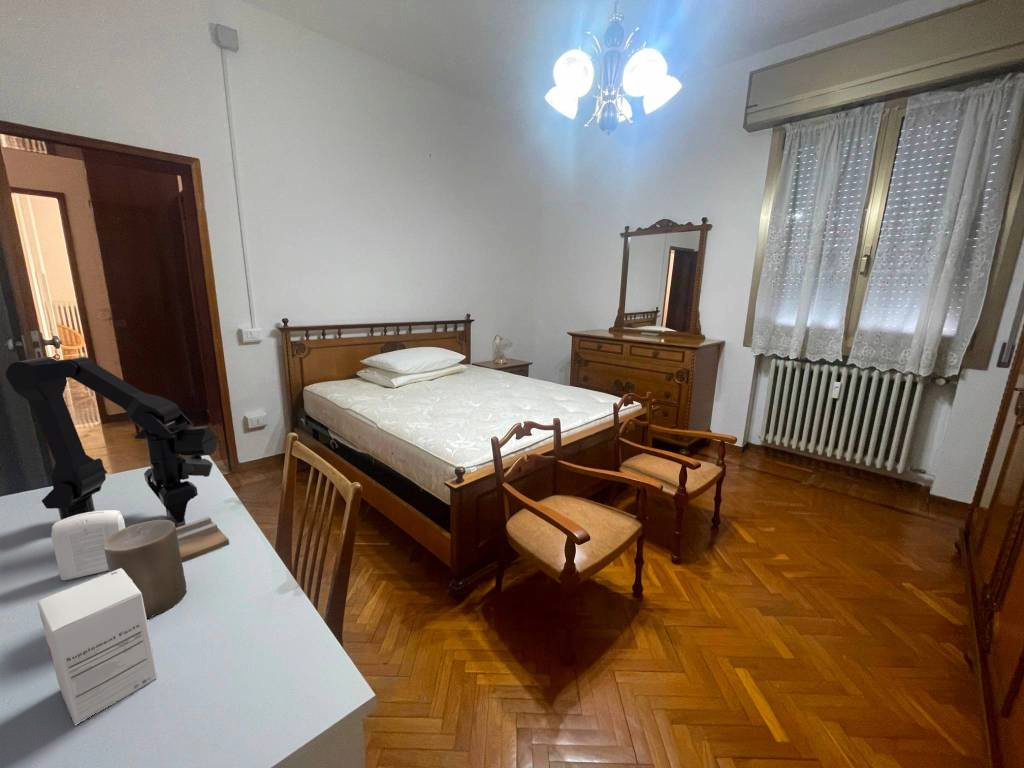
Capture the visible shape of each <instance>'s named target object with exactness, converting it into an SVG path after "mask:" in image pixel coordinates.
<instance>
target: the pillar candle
mask: <svg viewBox="0 0 1024 768" xmlns="http://www.w3.org/2000/svg"><path fill="white" fill-rule="evenodd" d="M176 528H177V527H176V526H175V524H174V522H172V521H171V520H170V519H155V520H148V521H143V522H139V523H136V524H132V525H129V526H128V527H125V528H124V529H122V530H120V531H119V532H117V533H115V534H113V535H112V536H110V537H109V538H107V540H106V541H105V542H104V544H103V549H104V551H105V556H106V560H107V565H108V570H107V571H108V573H110V572H112V571H115V570H117V569H120V568H122V569H123V570H124V571H125V573H126V574H127V575H128V576H129V578H131V579H132V581H133V583H134V584H135V585H136V587H137V588H138V589H139V590H140V592H141V593H142V598H143V603H144V608H145V613H146V618H151V617H153V616H157V615H160V614H162V613H164V612H166V611H168V610H170V609H171V608H173V607H175V606H176V605H178V603H180V602H181V600H183V598H184V597H185V596H186V594H187V593H188V590H187V580H186V576H185V572H184V566H183V563H182V560H181V555H180V550H179V544H178V538H177V532H176Z"/></svg>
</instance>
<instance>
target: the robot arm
mask: <svg viewBox="0 0 1024 768" xmlns="http://www.w3.org/2000/svg"><path fill="white" fill-rule="evenodd" d="M5 377H6V379H7V381H8V382H9V384H10V385H11V387H12V389H13V391H14V392H15V393H16V394H18V395H20V396H21V397H22V398H24V399H26V400H27V401H28V402H30V404H31V406H32V409H33V411H34V414H35V417H36V419H37V421H38V423H39V426H40V428H41V430H42V432H43V436H44V438H45V441H46V443H47V445H48V447H49V450H50V453H51V455H52V457H53V460H54V466H53V470H52V472H51V476H50V477H51V478H50V479H51V483H52V489H51V490H50V492H49V493H48V494H46V496H44V498H43V499H41V502H42V504H43V505H44V507H45V509H50V510H51V509H57V510H58V514H59V518H60V519H59V520H63V519H65V518H68V517H71V516H74V515H78V514H82V513H87V512H93V511H96V510H95V504H94V499H93V495H94V494H96V493H99V492H100V491H101V490H102V485H103V484H104V482H105V481H106V480H107V479H106V478H107V477H106V474H108V471H107V470H106V469H105V467H104V463H103V460H102V459H101V458H99V457H98V458H95V459H94V458H93V457H90V455H88V454H87V453H86V452H85V449H84V446H83V444H82V441H81V438H80V436H79V434H78V431H77V429H76V426H75V423H74V421H73V418H72V416H71V413H70V410H69V408H68V405H67V403H66V401H65V398H64V393H65V389H66V386H67V383H68V380H67V379H68V378H69V379H73V380H74V381H76V382H77V383H79V384H80V385H82V386H84V387H86V388H87V389H89V390H91V391H93V392H95V393H96V394H98V395H100V396H101V397H103V398H105V399H106V400H108V401H109V402H112V403H113V404H115V405H117V406H118V407H120V408H122V409H123V410H124V411H125V413H126V414H127V416H128V418H129V419H130V421H132V422H133V423H134V424H136V425H137V426H138V427H140V428H141V430H140V431H139V432H138V433H137V434H136V435H135V436H134V439H136V440H146V444H147V445H146V447H147V451H148V458H149V459H147V463H148V465H149V466H150V468H148V469H147V470H145V472H144V473H143V475H144V480H145V482H146V485H147V486H148V487H149V488H150V489H151V491H152V492H153V493H154V494H155V496H156V497H157V498H158V500H159V501H160V502H161V504H162V505H163V506H164V508H165V510H166V509H167V510H168V511H169V513H170V514H171V515H172V516H173V517H174V519H175V520H176V521H177V523H181V522H183V521H184V517H185V516H186V512H187V511H186V510H187V508H188V502H189V501H190V500H192V499H194V498H196V497H197V496H199V494H198V488H197V486H196V485H195V484H194V483H193V482H190V481H188V479H190V476H191V477H192V476H193V477H195V476H196V477H199V476H200V477H202V476H203V477H204V478H205V477H207V478H208V477H210V475H211V472H212V469H213V464H214V463H212V462H211V461H210V460H209V459H206V458H204V457H202V456H211V455H213V454H214V453H215V452H216V450H217V447H218V436H217V435H216V434H215V432H214V431H212V430H211V429H210V426H209V425H203V426H194V423H193V422H192V421H191V420H190V419H189V418H188V417H187V416H186V415H185V414H184V413H183V412H182V411H181V410H180V407H179V406H178V404H176V402H174V401H172V400H169V399H167V398H165V397H162V396H160V395H155V394H150V393H147V392H144V391H142V390H140V389H139V388H137V387H135V386H133V385H132V384H130V383H128V382H127V381H125V380H124V379H122V378H120V377H118V376H117V375H115V374H113V373H112V372H110V371H109V370H107V369H105V368H104V367H102V366H100V365H98V364H97V363H96V362H95V360H93V359H92V358H90V357H87V356H80V357H76V358H75V357H74V358H67V359H55V358H53V357H50V356H49V357H46V356H43V357H38V358H31V359H25V360H20V361H19V360H18V361H15V362H13V363H11V364H9V366H8V367H7V369H5ZM174 423H176V424H174ZM173 424H174V425H173ZM169 425H171V426H169ZM167 426H169V427H167ZM183 456H188V457H186V458H185V457H183ZM185 480H186V481H185ZM185 518H186V517H185Z"/></svg>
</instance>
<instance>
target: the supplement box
mask: <svg viewBox="0 0 1024 768" xmlns="http://www.w3.org/2000/svg"><path fill="white" fill-rule="evenodd" d="M37 607H38V611H39V614H40V619H41V623H42V624H41V625H42V627H43V631H44V635H45V638H46V643H47V646H48V650H49V655H50V657H51V661H52V666H53V669H54V671H55V677H56V679H57V683H58V685H59V690H60V692H61V693H60V694H61V696H62V698H63V700H64V703H65V705H66V707H67V710H68V712H69V713H68V714H69V715H70V717H72V718H71V719H72V722H73V721H74V722H73V724H74V723H75V724H77V723H79V722H81V721H83V720H84V719H86V718H88V717H90V716H92V715H94V714H95V713H97V712H99V713H100V711H101V710H102V711H104V710H106V709H107V708H109V707H111V706H112V705H114V704H116V703H117V701H118V702H119V701H121V700H123V699H124V698H126V697H128V696H129V695H132V694H133V693H134V692H136V691H138V690H140V689H141V688H143V687H144V686H146V685H148V684H150V683H151V682H154V681H155V680H156V679H158V671H157V666H156V660H155V656H154V650H153V646H152V641H151V636H150V629H149V624H148V620H147V618H146V613H145V608H144V603H143V598H142V593H141V592H140V590H139V589H138V588H137V587H136V585H135V584H134V583H133V581H132V579H131V578H129V576H128V575H127V574H126V573H125V571H124V570H123V569H122V568H120V569H117V570H115V571H112V572H110V573H109V572H108V573H106V574H103V575H101V576H97V577H95V578H93V579H91V580H88V581H85V582H83V583H81V584H77V585H75V586H72V587H70V588H67V589H64V590H62V591H58V592H55V593H54V594H51V595H49V596H47V597H45V598H41V599H40V600H38V601H37ZM110 705H111V706H110ZM108 706H109V707H108ZM105 708H106V709H105ZM103 709H104V710H103ZM102 711H101V712H102ZM97 714H98V713H97ZM95 715H96V714H95ZM95 715H94V716H95ZM92 717H93V716H92ZM90 718H91V717H90ZM75 724H74V725H75Z"/></svg>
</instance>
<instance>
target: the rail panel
mask: <svg viewBox="0 0 1024 768" xmlns="http://www.w3.org/2000/svg"><path fill="white" fill-rule="evenodd" d="M185 524H186V525H183V526H180V527H176V532H177V538H178V544H179V550H180V555H181V560H182V564H183V563H185V562H188V561H191V560H193V559H196V558H197V557H201V556H203V555H206V554H208V553H211V552H214V551H216V550H219V549H221V548H223V547H226V546H229V545H230V539H229V538H228V537H227V536H226V535H225V533H224V532H223V531H221V529H220V528H219V527H218V524H216V523H214V521H212V518H211V517H210V516H207V517H204V518H201V519H198V520H194V521H192V522H189V523H185Z"/></svg>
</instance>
